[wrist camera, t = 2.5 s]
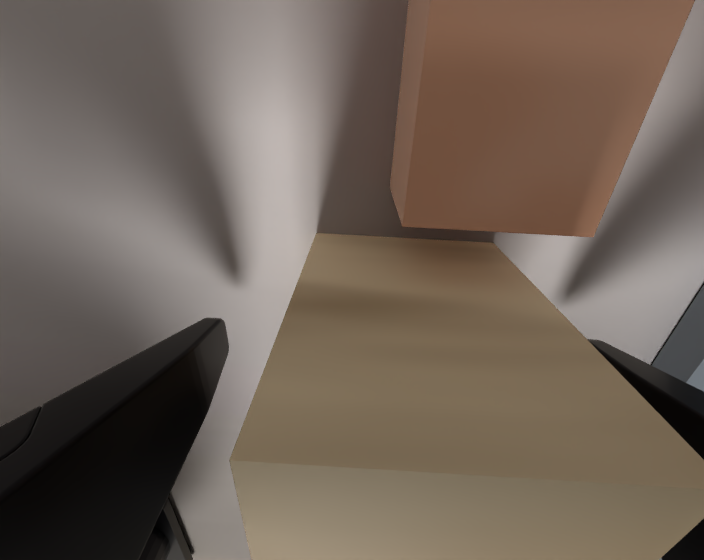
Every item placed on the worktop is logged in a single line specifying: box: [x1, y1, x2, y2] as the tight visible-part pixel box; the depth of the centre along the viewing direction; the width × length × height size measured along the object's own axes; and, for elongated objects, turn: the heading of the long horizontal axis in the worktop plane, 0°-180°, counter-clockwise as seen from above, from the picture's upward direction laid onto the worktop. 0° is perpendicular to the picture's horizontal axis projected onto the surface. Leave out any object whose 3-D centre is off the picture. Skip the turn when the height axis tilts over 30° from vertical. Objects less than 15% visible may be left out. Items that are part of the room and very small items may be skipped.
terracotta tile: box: [390, 0, 695, 237], centre depth 5 cm, size 5×3×3 cm, turn 177°
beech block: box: [229, 233, 704, 560], centre depth 7 cm, size 4×4×6 cm
